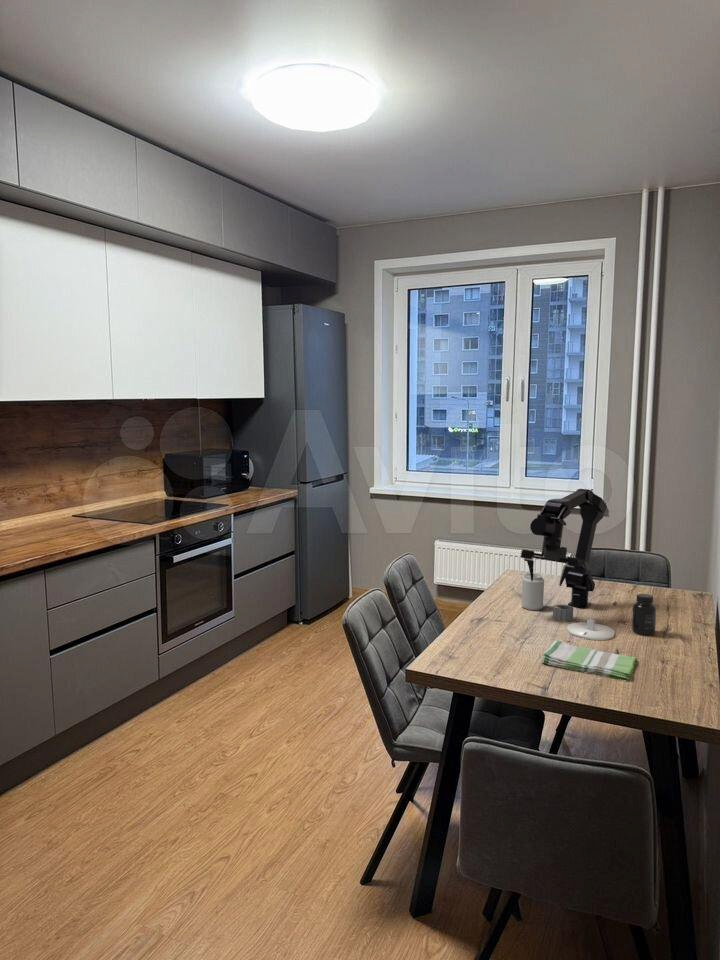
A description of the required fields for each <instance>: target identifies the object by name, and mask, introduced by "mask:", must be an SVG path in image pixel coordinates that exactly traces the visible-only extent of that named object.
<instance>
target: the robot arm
mask: <svg viewBox="0 0 720 960" xmlns="http://www.w3.org/2000/svg"><path fill="white" fill-rule="evenodd" d="M576 507H579V508H580V509H579V514H580V517H581V520H582V524H581V527H580V533H579V537H578V542H577V546H576V552H575V556H574V557H573V556H567V552H568V551H567V550H568V547H565V546H561V544H562V537H563V530H564V526H567V523H566V521H565V519H566V518H567V517H569V516H570V514H571V511H572V510H573V509H575V508H576ZM606 510H607V504H606V502H605V501H604V499H603V498H602V497H601V496H599V495H597V494H595V492H594V491H593V490H591V489H586V488H579V489H578V488H577V489H576V491H574V492H572V493H569V494H567V495H566V496H564V497H562V498H552V499H548V500H547V501H546V503H545V504H544V506H543V507H542V509H541V511H540V512H539V513H538V514H537V517H536V518H534V519H533V520H532V521H531V523H530V526H529V527H530V528H529V529H530V531H531V533H532V534H533V535H536V536H540V537H541V536H542V537H543V541H542V547H541V553H538V552H535V550H531V549H524V548H523V549H521V551H520V558H522V559H523V561H525V562H527V566H528V571H529V573H530V576H531V581H533V573H534V563H535V561H534V559H536V560H542V561H543V560H545V561H550V562H557V563H563V567H562V571H561V574H560V580H559V587H561V586H562V585H563V583H564V581H565V585H566V586H565V587H566V588H571V599H570V602H568V603H567V605H569V606H572V607H577V608H581V609H586V608H588V607H590V606H591V605H592V602H589V592H594V591H595V588H596V583H595V581H594V580H593V577H592V569H591V565H590V563H589V562H590V556H591V553H592V548H593V542H594V539H595V534H596V529H597V524H598V523H599V522H600V521H601V520H602V519H603V518H604V515H605V512H606Z"/></svg>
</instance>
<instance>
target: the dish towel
mask: <svg viewBox="0 0 720 960" xmlns="http://www.w3.org/2000/svg"><path fill="white" fill-rule="evenodd" d="M542 656H543V657H544V658H543V659H542V660H541V664H542V663H545V664H544V665H546V664H550V665H549V666H551V665H553V666H552V667H555V666H557V667H556V668H560V667H561V669H564V668H568V669H567V670H569V669H572V670H571V671H574V670H577V671H576V672H579V671H583V672H582V673H584V672H587V673H586V674H589V673H592V674H591V675H593V674H596V675H595V676H598V675H600V676H599V677H603V676H604V678H608V677H609V679H613V680H618V679H619V681H623V680H626V681H625V682H629V679H630V678H631V676H632V674H631V673H633V672H634V669H635V665H636V663H637V662H638V658H637V657H635V656H630V655H623V654H616V653H612V652H605V651H600V650H594V649H592V648H587V647H580V646H574V645H571V644H568V643H564V642H563V641H561V640H553V642H552V643H551V644H550V646H549V647H548V649H547V650H546V651H544V652H543V654H542ZM632 671H633V672H632ZM605 676H606V677H605ZM620 679H621V680H620Z"/></svg>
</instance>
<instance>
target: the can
mask: <svg viewBox="0 0 720 960" xmlns="http://www.w3.org/2000/svg"><path fill="white" fill-rule="evenodd" d="M521 582H522V583H521V584H522V585H521V606H522V607H523V608H524V609H526V610H528V611H539V610H541V609H542V608H543V607H544V594H545V593H544V591H545V579H544V578H543V575H542V574H540V573H534V572H533V581H531V576H530V572H529V573H528V572H527V573H524V575H523V577H522V581H521Z"/></svg>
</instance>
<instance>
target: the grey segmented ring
mask: <svg viewBox="0 0 720 960" xmlns="http://www.w3.org/2000/svg"><path fill="white" fill-rule="evenodd" d="M552 619H553V620H554V621H558V622H561V621H562V622H563V623H564V622H565V623H567V622H568V621H570V622H572V621H573V619H574V606H570V605H568V604H562V603H561V604H558V603H557V604H554V605H553V606H552Z"/></svg>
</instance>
